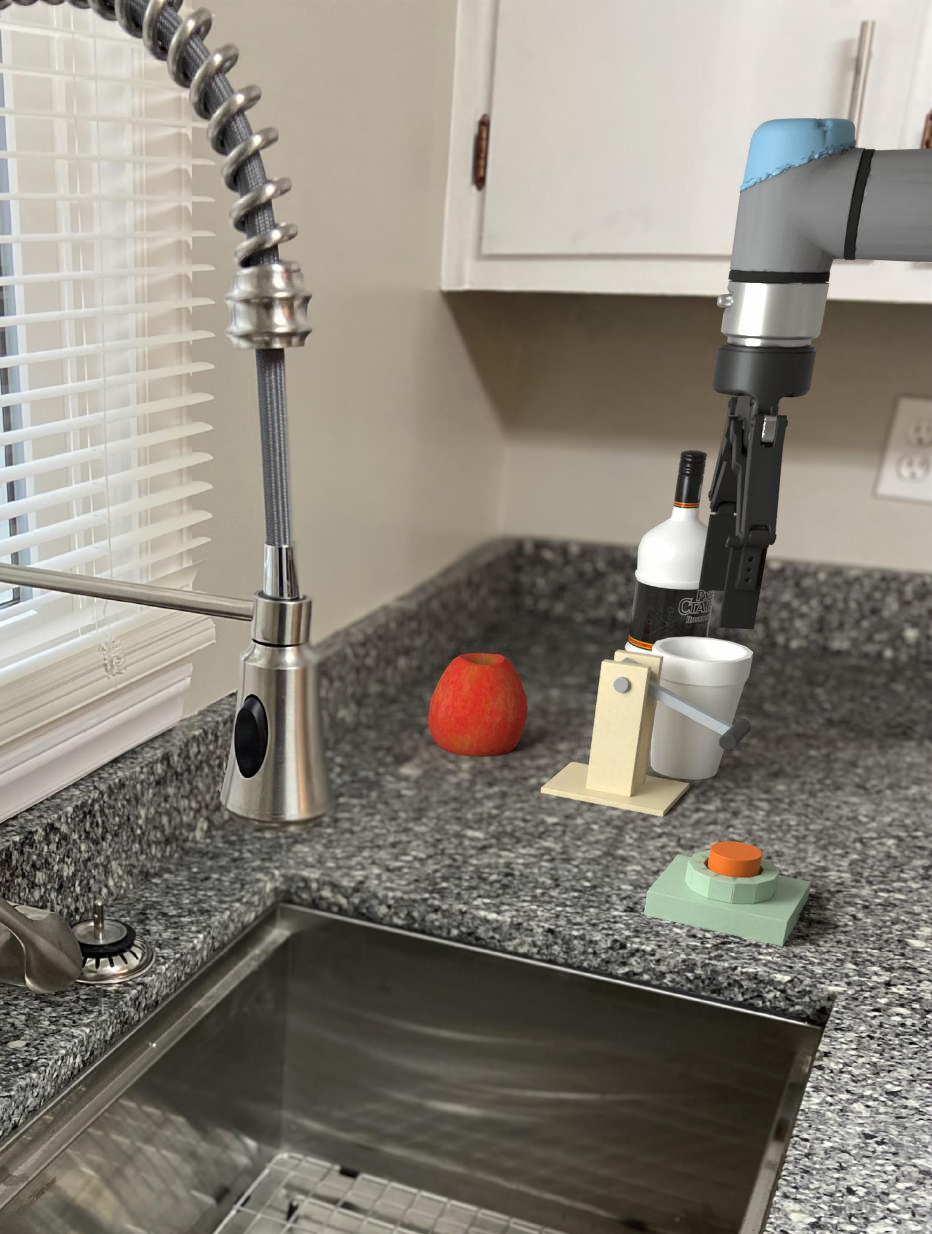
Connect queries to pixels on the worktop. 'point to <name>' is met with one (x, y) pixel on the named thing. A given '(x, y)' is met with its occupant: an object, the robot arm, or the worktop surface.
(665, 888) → the control block
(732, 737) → the lever
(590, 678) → the worktop surface
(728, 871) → the button
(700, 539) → the vodka
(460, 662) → the apple
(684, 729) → the foam cup
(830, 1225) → the worktop surface
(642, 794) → the bracket
